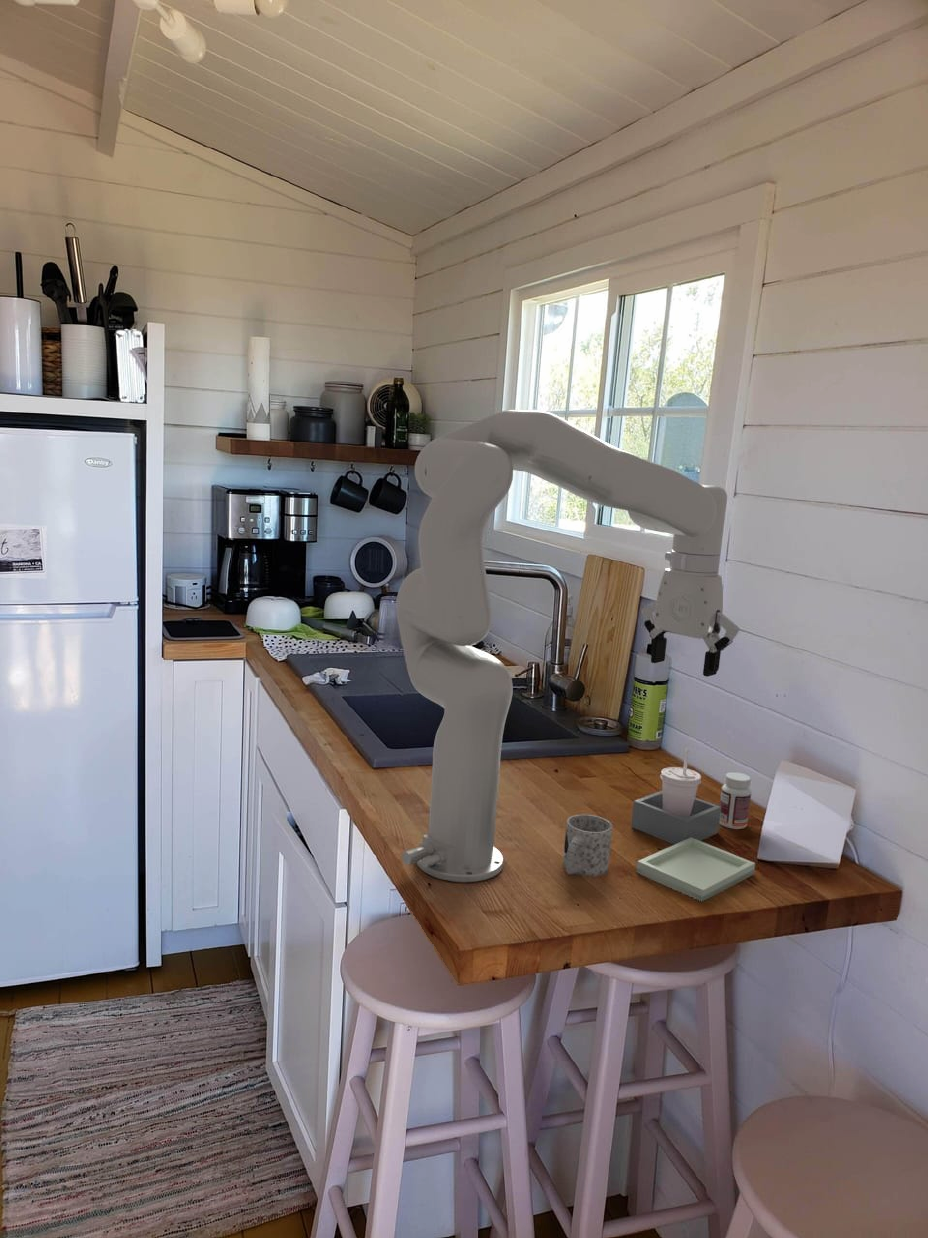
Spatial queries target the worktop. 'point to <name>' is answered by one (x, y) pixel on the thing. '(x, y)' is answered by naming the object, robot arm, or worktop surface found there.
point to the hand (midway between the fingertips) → (683, 668)
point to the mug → (587, 845)
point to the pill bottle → (735, 801)
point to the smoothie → (679, 788)
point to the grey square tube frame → (675, 819)
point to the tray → (695, 868)
